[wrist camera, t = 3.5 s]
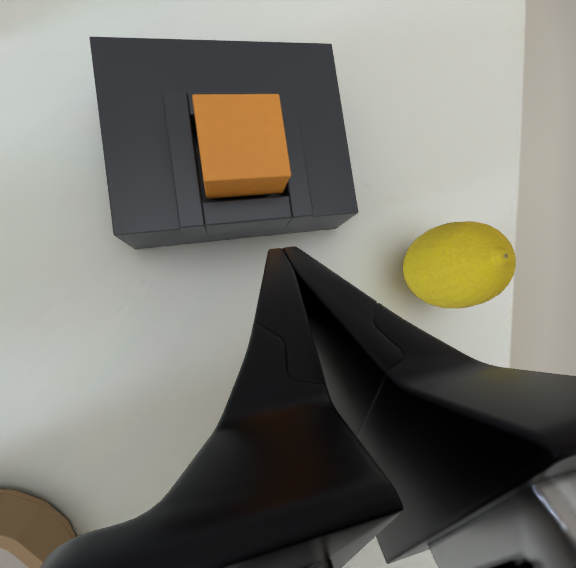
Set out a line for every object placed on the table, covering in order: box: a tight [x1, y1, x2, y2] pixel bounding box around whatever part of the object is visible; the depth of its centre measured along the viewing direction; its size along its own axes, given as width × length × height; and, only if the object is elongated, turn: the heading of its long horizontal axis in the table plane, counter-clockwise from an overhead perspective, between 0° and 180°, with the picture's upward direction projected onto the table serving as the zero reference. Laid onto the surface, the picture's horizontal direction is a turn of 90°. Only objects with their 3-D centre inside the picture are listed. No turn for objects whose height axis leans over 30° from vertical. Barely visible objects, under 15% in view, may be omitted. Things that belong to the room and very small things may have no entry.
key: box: [192, 94, 291, 199], centre depth 15 cm, size 4×4×2 cm
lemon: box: [403, 222, 516, 308], centre depth 20 cm, size 6×6×8 cm
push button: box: [90, 37, 358, 249], centre depth 19 cm, size 12×14×6 cm
